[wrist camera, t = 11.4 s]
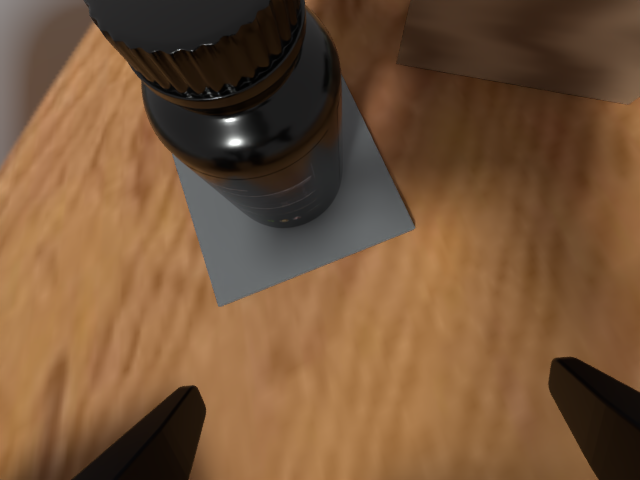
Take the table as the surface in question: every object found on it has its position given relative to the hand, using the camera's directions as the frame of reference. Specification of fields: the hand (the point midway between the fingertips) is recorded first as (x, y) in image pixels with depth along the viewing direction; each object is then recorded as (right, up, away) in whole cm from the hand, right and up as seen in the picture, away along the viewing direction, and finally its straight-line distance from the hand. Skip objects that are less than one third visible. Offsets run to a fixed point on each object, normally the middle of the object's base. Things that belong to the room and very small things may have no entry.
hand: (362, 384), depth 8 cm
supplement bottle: (-3, +7, +11) cm, 13 cm away
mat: (-3, +8, +11) cm, 14 cm away
